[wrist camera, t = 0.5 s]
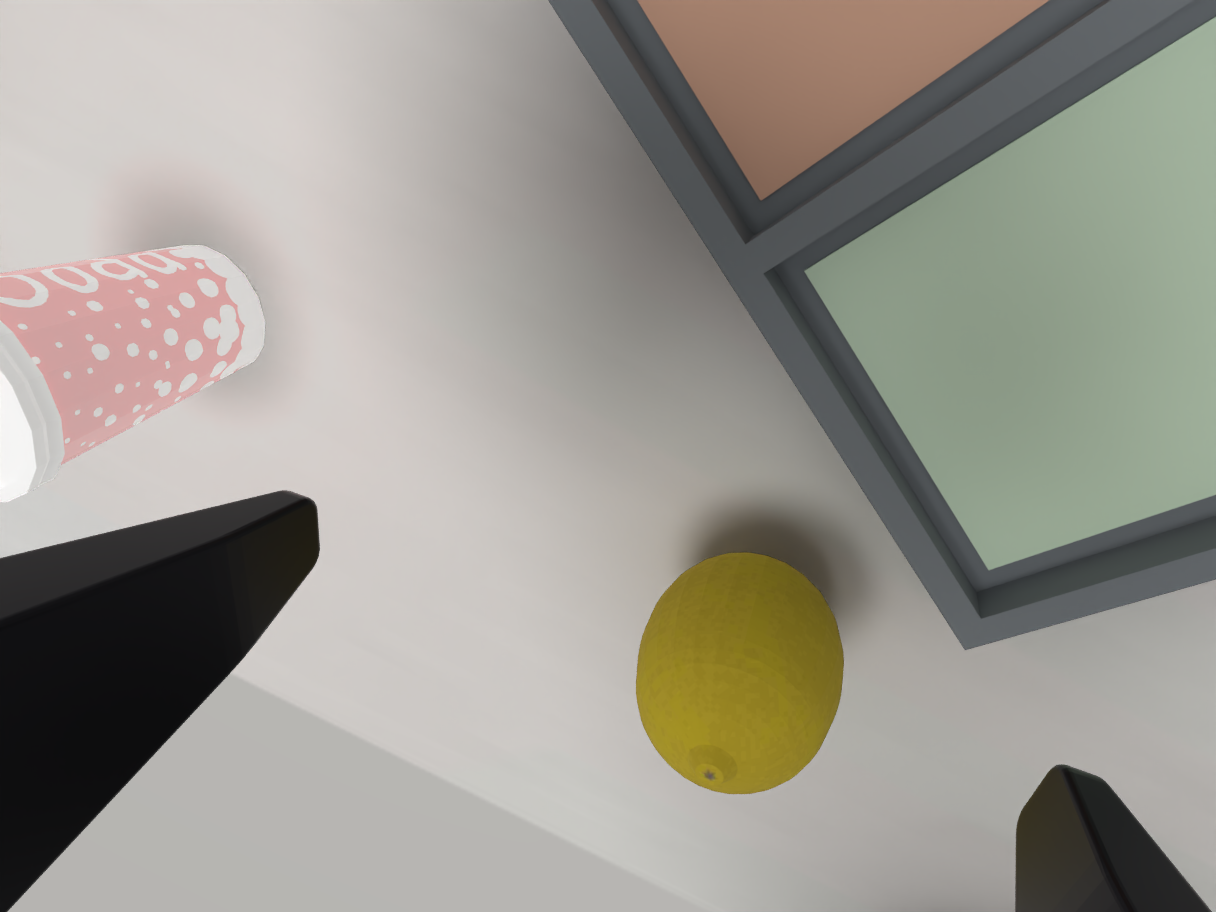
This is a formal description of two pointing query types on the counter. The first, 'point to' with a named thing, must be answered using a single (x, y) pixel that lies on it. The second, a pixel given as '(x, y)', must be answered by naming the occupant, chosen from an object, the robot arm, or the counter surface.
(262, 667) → the counter surface
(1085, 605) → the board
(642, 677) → the lemon
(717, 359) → the counter surface
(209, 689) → the robot arm
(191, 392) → the beverage cup
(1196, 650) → the counter surface
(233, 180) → the counter surface
